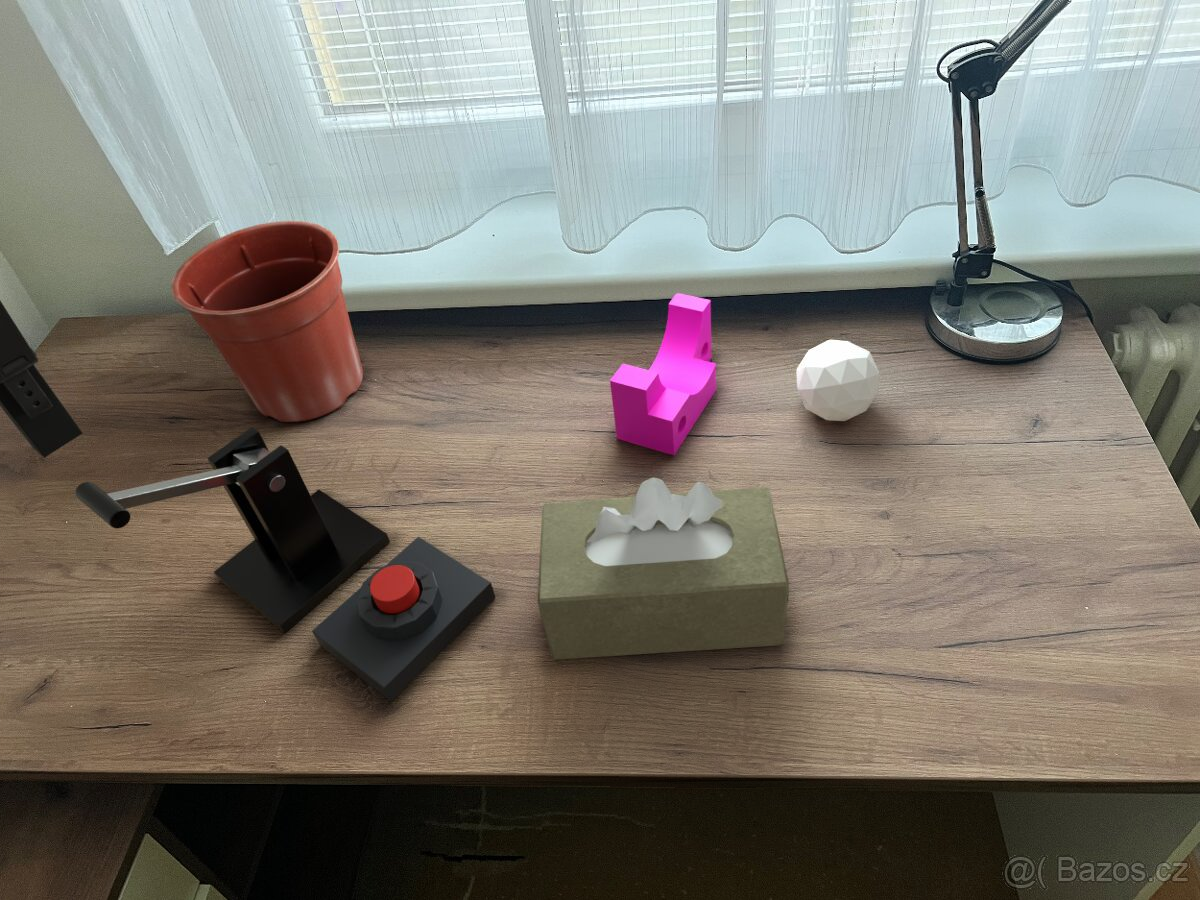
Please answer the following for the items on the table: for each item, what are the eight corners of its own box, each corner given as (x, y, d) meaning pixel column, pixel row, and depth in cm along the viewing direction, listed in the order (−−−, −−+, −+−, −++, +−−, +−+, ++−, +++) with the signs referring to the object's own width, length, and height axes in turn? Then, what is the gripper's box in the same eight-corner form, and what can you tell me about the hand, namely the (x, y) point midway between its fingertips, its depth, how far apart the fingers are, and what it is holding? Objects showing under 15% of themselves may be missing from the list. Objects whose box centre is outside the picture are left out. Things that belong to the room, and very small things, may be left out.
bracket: (285, 633, 74) (219, 528, 64) (218, 580, 79) (148, 474, 69) (390, 541, 80) (344, 433, 70) (322, 497, 85) (271, 390, 75)
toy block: (674, 455, 84) (670, 396, 79) (616, 438, 87) (609, 380, 82) (733, 363, 93) (733, 305, 88) (679, 350, 96) (676, 293, 90)
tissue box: (548, 661, 69) (515, 533, 58) (552, 563, 76) (523, 432, 65) (787, 646, 68) (800, 512, 57) (769, 548, 75) (777, 412, 64)
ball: (814, 419, 90) (800, 343, 89) (894, 408, 86) (880, 327, 85) (793, 434, 83) (777, 352, 82) (878, 422, 79) (863, 335, 78)
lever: (109, 537, 60) (109, 506, 59) (75, 507, 63) (74, 477, 62) (288, 490, 71) (290, 464, 70) (252, 466, 74) (254, 441, 73)
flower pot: (203, 414, 96) (134, 292, 85) (304, 329, 106) (255, 209, 95) (314, 455, 89) (256, 329, 78) (411, 360, 99) (371, 236, 88)
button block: (391, 702, 68) (377, 675, 65) (320, 645, 73) (303, 618, 70) (496, 597, 74) (487, 569, 72) (424, 551, 79) (413, 522, 76)
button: (396, 621, 69) (390, 608, 68) (366, 600, 71) (360, 587, 70) (428, 590, 71) (423, 577, 70) (399, 571, 73) (393, 557, 72)
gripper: (-76, 75, 40) (160, 444, 56) (-173, 33, 46) (64, 376, 63) (-262, 144, 36) (51, 519, 52) (-339, 88, 42) (-39, 437, 59)
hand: (58, 440), depth 57 cm, fingers closed
